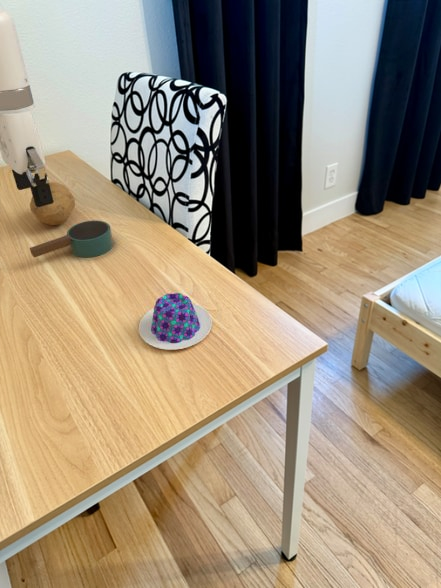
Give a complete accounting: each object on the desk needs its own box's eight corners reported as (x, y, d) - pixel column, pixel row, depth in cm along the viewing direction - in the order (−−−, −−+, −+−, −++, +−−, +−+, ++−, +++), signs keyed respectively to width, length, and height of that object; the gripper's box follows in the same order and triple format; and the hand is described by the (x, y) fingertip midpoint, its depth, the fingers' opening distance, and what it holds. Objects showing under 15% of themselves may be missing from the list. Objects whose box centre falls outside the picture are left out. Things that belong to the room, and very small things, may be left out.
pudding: (226, 333, 69) (225, 307, 66) (160, 364, 64) (155, 338, 61) (188, 296, 77) (186, 272, 74) (127, 321, 72) (122, 297, 69)
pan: (102, 232, 98) (98, 215, 95) (121, 247, 92) (117, 230, 90) (29, 258, 90) (22, 240, 87) (44, 276, 84) (38, 258, 82)
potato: (30, 237, 97) (19, 204, 92) (41, 210, 108) (31, 180, 103) (74, 232, 98) (66, 200, 93) (80, 206, 109) (73, 176, 105)
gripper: (-30, 92, 74) (0, 186, 84) (0, 113, 63) (31, 218, 74) (14, 87, 78) (38, 177, 88) (50, 105, 67) (73, 206, 77)
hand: (35, 196), depth 81 cm, fingers open, 9 cm apart
